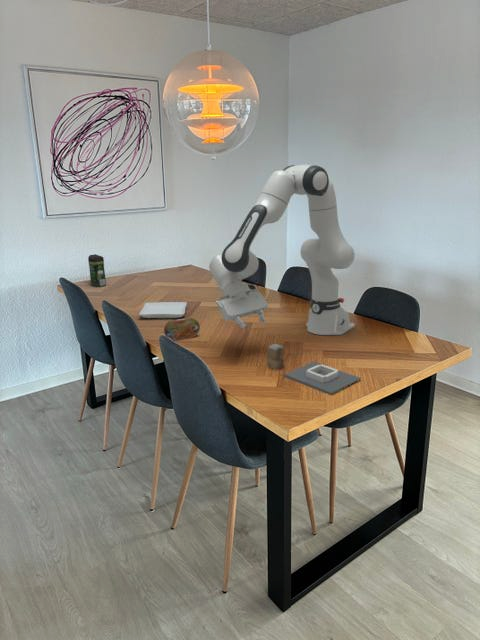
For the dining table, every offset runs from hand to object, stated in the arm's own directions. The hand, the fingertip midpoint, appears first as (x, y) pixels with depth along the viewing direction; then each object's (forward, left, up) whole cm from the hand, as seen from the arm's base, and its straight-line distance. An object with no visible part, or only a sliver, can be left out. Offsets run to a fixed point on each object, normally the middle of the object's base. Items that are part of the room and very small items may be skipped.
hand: (254, 324), depth 182 cm
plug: (0, +11, -13) cm, 17 cm away
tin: (+6, -37, -14) cm, 40 cm away
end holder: (-4, +29, -13) cm, 32 cm away
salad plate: (-9, -72, -14) cm, 74 cm away
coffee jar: (-14, -149, -14) cm, 150 cm away
